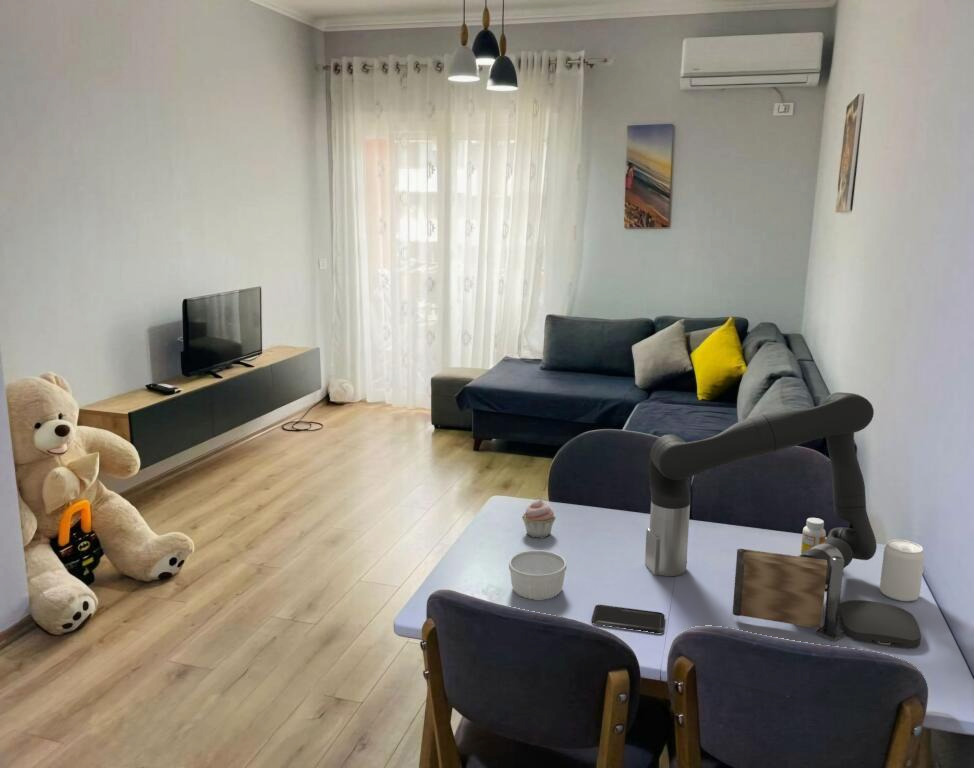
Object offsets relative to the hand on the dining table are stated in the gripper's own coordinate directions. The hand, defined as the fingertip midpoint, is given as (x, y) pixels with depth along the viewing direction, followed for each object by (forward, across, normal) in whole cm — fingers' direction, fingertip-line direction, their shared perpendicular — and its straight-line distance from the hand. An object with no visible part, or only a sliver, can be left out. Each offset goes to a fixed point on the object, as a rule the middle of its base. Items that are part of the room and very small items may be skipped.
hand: (780, 589), depth 164 cm
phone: (+22, -22, +8) cm, 33 cm away
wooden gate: (+1, 0, +7) cm, 7 cm away
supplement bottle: (-38, -11, +8) cm, 40 cm away
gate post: (-5, 0, +8) cm, 10 cm away
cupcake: (+4, -67, +8) cm, 68 cm away
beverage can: (-33, +12, +9) cm, 36 cm away
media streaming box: (-14, +15, +9) cm, 22 cm away
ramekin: (+27, -45, +8) cm, 53 cm away
